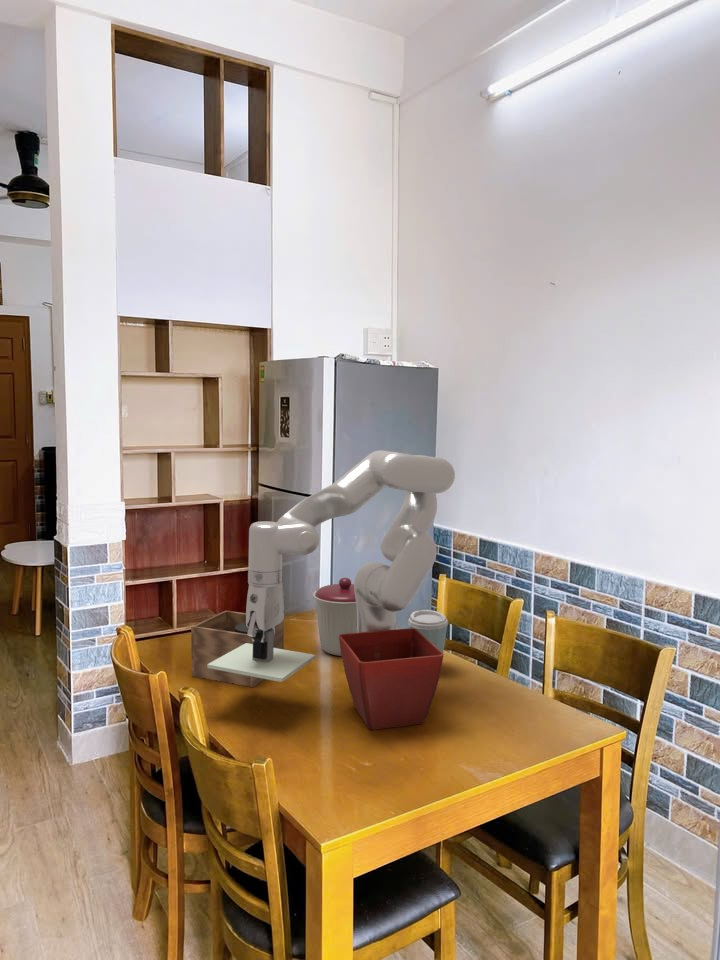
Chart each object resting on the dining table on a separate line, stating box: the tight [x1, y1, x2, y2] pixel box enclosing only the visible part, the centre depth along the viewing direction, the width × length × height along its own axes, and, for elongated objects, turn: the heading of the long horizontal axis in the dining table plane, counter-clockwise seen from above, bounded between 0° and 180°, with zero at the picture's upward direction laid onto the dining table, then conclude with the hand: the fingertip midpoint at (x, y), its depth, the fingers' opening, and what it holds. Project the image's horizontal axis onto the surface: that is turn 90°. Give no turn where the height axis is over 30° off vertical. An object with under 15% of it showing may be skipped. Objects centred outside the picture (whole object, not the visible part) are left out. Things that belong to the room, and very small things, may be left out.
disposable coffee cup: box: [407, 609, 449, 654], centre depth 191 cm, size 11×11×15 cm
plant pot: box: [339, 627, 445, 730], centre depth 162 cm, size 19×19×17 cm
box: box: [190, 610, 285, 688], centre depth 188 cm, size 18×16×13 cm
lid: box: [207, 629, 316, 683], centre depth 164 cm, size 19×17×8 cm
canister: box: [312, 577, 357, 657], centre depth 205 cm, size 18×18×21 cm
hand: (263, 655), depth 164 cm, fingers closed on lid, 2 cm apart
